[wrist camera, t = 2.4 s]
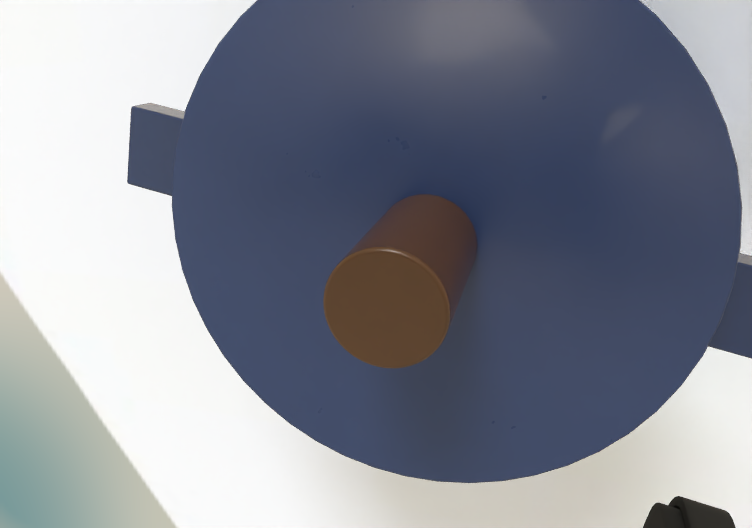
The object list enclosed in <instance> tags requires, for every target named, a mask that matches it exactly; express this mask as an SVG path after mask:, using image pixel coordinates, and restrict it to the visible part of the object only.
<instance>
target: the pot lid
mask: <svg viewBox="0 0 752 528" xmlns="http://www.w3.org/2000/svg"><path fill="white" fill-rule="evenodd" d="M172 211H173V220H174V230H175V239H176V243H177V248H178V252H179V257H180V261H181V266H182V270H183V273H184V276H185V279H186V281H187V284H188V287H189V290H190V293H191V296H192V299H193V301H194V303H195V305H196V307H197V309H198V311H199V313H200V316H201V318H202V320H203V322H204V324H205V326H206V328H207V330H208V331H209V333H210V335H211V336H212V338H213V339H214V341H215V343H216V344H217V346H218V347H219V349H220V351H221V352H222V354H223V355H224V357H225V358H226V359H227V361H228V362H229V363H230V364H231V366H232V367H233V368H234V369H235V371H236V372H237V373H238V375H239V376H240V377H241V378H242V380H243V381H244V382H245V383H246V384H247V385H248V386H249V387H250V388H251V389H252V390H253V391H254V392H255V393H256V394H257V395H258V396H259V397H260V398H261V399H262V400H263V401H264V402H265V403H266V404H267V405H268V406H269V407H271V408H272V409H273V410H274V411H275V412H277V413H278V414H279V415H280V416H281V417H283V418H284V419H285V420H286V421H287V422H289V423H290V424H291V425H293V426H294V427H296V428H297V429H299V430H300V431H302V432H303V433H305V434H306V435H308V436H309V437H311V438H312V439H314V440H315V441H317V442H319V443H321V444H323V445H325V446H327V447H329V448H331V449H332V450H334V451H336V452H338V453H340V454H342V455H344V456H346V457H349V458H351V459H354V460H356V461H359V462H361V463H364V464H367V465H369V466H372V467H374V468H378V469H381V470H385V471H389V472H392V473H396V474H399V475H403V476H408V477H414V478H420V479H426V480H432V481H441V482H460V483H478V482H495V481H506V480H511V479H517V478H523V477H528V476H534V475H538V474H541V473H544V472H548V471H551V470H554V469H558V468H561V467H564V466H568V465H570V464H572V463H574V462H577V461H579V460H581V459H583V458H586V457H588V456H590V455H593V454H595V453H597V452H599V451H601V450H603V449H604V448H606V447H608V446H609V445H611V444H612V443H614V442H616V441H617V440H619V439H621V438H622V437H624V436H626V435H627V434H629V433H630V432H632V431H633V430H634V429H635V428H637V427H638V426H639V425H640V424H642V423H643V422H644V421H645V420H647V419H648V418H649V417H650V416H652V415H653V414H654V413H655V412H657V410H658V409H659V408H660V407H661V406H662V405H663V404H664V403H665V402H666V401H667V400H668V399H669V398H670V397H671V396H672V395H673V394H674V393H675V392H676V391H677V390H678V388H679V387H680V386H681V385H682V384H683V383H684V381H685V380H686V378H687V377H688V376H689V374H690V373H691V371H692V370H693V369H694V367H695V366H696V364H697V363H698V362H699V360H700V359H701V358H702V356H703V355H704V353H705V351H706V349H707V347H708V345H709V343H710V341H711V339H712V337H713V335H714V334H715V332H716V330H717V328H718V326H719V324H720V322H721V319H722V316H723V313H724V311H725V308H726V305H727V302H728V299H729V296H730V293H731V291H732V288H733V284H734V279H735V274H736V268H737V263H738V258H739V252H740V247H741V222H742V202H741V193H740V184H739V175H738V167H737V162H736V159H735V155H734V151H733V148H732V144H731V140H730V137H729V133H728V129H727V125H726V123H725V121H724V118H723V116H722V114H721V112H720V109H719V107H718V105H717V103H716V100H715V98H714V96H713V94H712V91H711V89H710V87H709V85H708V83H707V82H706V80H705V78H704V77H703V75H702V74H701V72H700V71H699V69H698V67H697V66H696V64H695V63H694V61H693V60H692V58H691V56H690V55H689V53H688V52H687V50H686V49H685V47H684V46H683V45H682V44H681V43H680V42H679V41H678V39H677V38H676V37H675V36H674V35H673V34H672V32H671V31H670V30H669V29H668V28H667V27H666V26H665V24H664V23H663V22H662V21H661V20H660V19H659V18H658V16H657V15H656V14H655V13H653V12H652V11H651V10H650V9H649V8H647V7H646V6H645V5H644V4H643V3H642V2H640V1H639V0H257V1H256V2H255V3H254V4H253V5H252V6H251V7H250V8H249V9H248V10H247V11H246V12H244V13H243V14H242V15H241V16H240V18H239V19H238V20H237V21H236V23H235V24H234V25H233V26H232V28H231V29H230V30H229V31H228V33H227V34H226V35H225V36H224V38H223V39H222V40H221V41H220V43H219V44H218V46H217V47H216V49H215V51H214V52H213V54H212V56H211V57H210V59H209V61H208V62H207V64H206V66H205V67H204V69H203V71H202V73H201V74H200V76H199V79H198V81H197V83H196V86H195V88H194V90H193V93H192V95H191V98H190V100H189V102H188V105H187V107H186V110H185V114H184V118H183V121H182V125H181V129H180V132H179V136H178V139H177V146H176V153H175V160H174V167H173V179H172Z"/></svg>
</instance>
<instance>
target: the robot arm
mask: <svg viewBox="0 0 752 528" xmlns="http://www.w3.org/2000/svg"><path fill="white" fill-rule="evenodd" d="M643 528H735V525H734V522H733V519H732V517H731V516H730V514H729V513H728V512H727V511H725V510H722V509H719V508H715V507H712V506H709V505H706V504H703V503H699V502H696V501H693V500H690V499H686V498H683V497H680V496H677V497H674V499H673V500H672V501H671V502H670V504H669V505H665V504H661V503H655V504H654V506H653V507H652V509H651V510H650V512H649V515H648V517H647V519H646V522H645V524H644V526H643Z"/></svg>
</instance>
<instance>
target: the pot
mask: <svg viewBox="0 0 752 528" xmlns="http://www.w3.org/2000/svg"><path fill="white" fill-rule="evenodd" d="M184 114H185V112H184V111H180V110H176V109H172V108H168V107H165V106H161V105H157V104H153V103H147V104H142V105H137V106H133V107H132V108H131V123H130V142H129V161H128V180H127V182H128V184H131V185H135V186H138V187H142V188H145V189H149V190H153V191H156V192H160V193H163V194H167V195H170V196H172V179H173V167H174V160H175V153H176V146H177V139H178V136H179V132H180V129H181V125H182V121H183V118H184ZM708 346H709V347H713V348H716V349H720V350H723V351H727V352H731V353H734V354H738V355H741V356H745V357H749V358H752V256H749V255H745V254H741V253H739V258H738V263H737V268H736V274H735V279H734V284H733V288H732V291H731V293H730V296H729V299H728V302H727V305H726V308H725V311H724V313H723V316H722V319H721V322H720V324H719V326H718V328H717V330H716V332H715V334H714V335H713V337H712V339H711V341H710V343H709V345H708Z"/></svg>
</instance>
